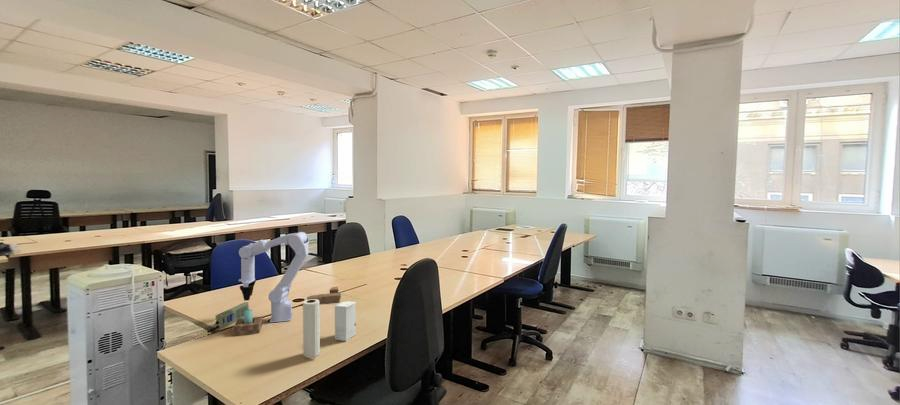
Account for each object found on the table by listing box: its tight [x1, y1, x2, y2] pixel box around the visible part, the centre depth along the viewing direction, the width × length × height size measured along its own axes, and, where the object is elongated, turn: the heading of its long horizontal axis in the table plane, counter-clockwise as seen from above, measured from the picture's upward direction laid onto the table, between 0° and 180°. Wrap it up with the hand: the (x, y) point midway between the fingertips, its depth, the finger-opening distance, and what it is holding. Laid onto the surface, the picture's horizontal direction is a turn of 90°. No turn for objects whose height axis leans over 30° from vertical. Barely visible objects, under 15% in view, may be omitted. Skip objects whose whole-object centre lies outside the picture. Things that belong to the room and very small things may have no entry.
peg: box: [244, 308, 253, 324], centre depth 175 cm, size 3×3×9 cm
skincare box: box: [334, 300, 357, 342], centre depth 169 cm, size 8×6×15 cm
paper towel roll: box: [302, 299, 321, 360], centre depth 151 cm, size 7×6×21 cm
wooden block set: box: [306, 286, 342, 305], centre depth 221 cm, size 17×6×18 cm
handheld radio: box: [207, 301, 250, 334], centre depth 183 cm, size 7×3×25 cm
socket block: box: [233, 316, 263, 337], centre depth 175 cm, size 10×10×4 cm
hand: (248, 297), depth 189 cm, fingers open, 7 cm apart
